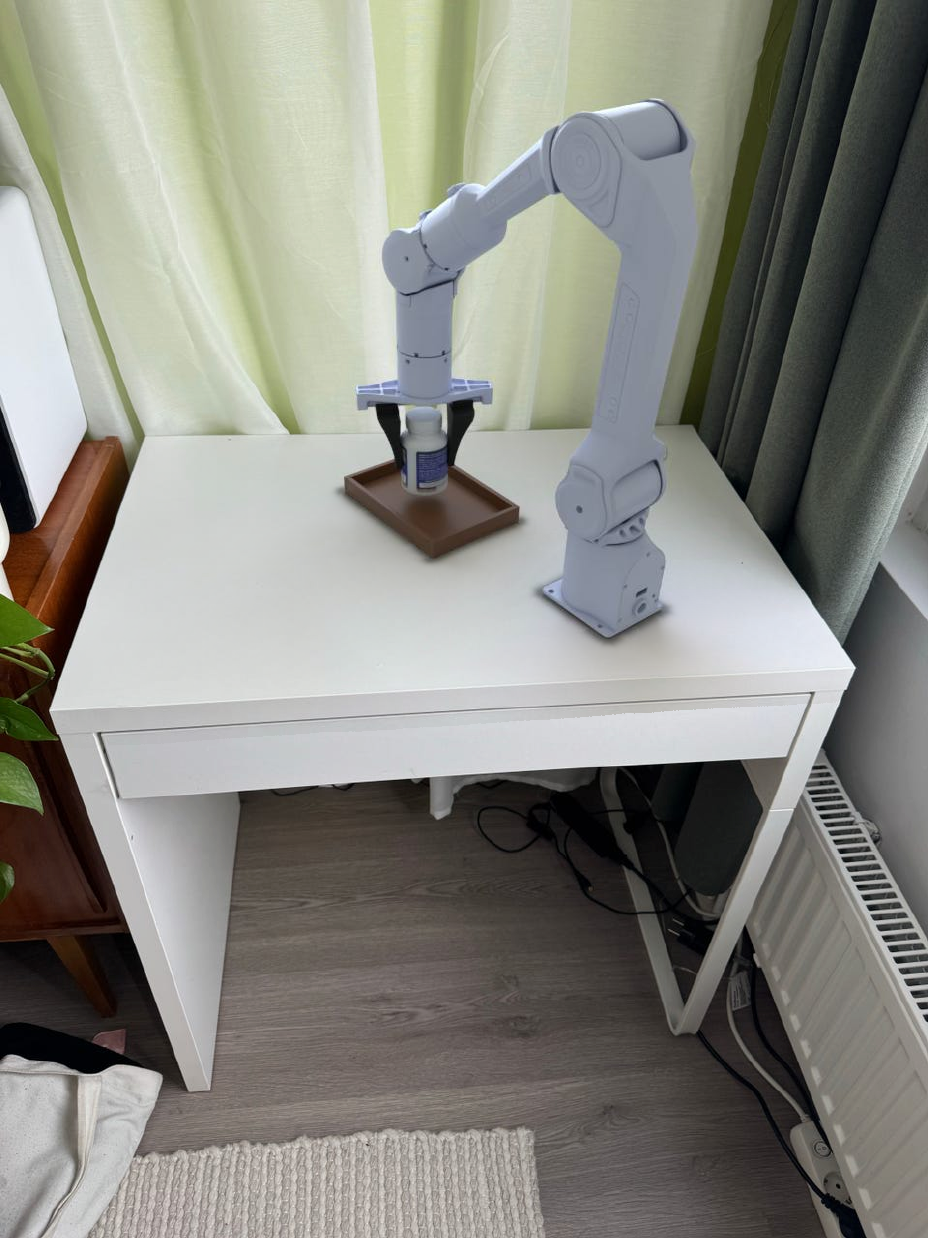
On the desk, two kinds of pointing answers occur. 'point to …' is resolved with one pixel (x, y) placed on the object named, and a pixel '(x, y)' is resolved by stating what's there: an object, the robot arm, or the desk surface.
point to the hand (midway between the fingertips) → (424, 463)
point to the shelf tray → (433, 507)
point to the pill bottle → (424, 452)
